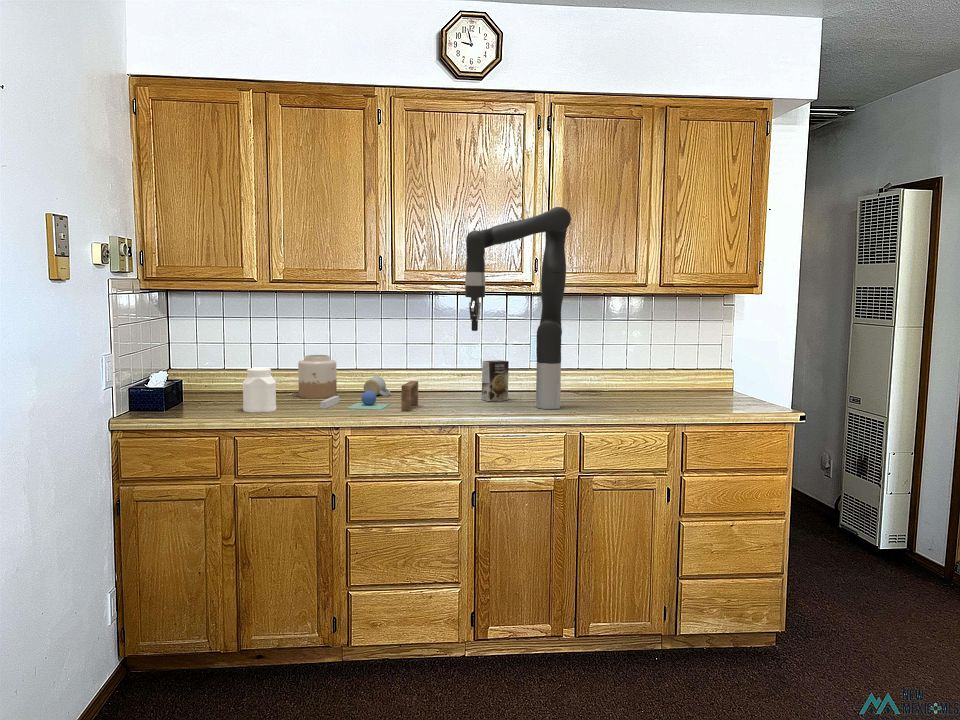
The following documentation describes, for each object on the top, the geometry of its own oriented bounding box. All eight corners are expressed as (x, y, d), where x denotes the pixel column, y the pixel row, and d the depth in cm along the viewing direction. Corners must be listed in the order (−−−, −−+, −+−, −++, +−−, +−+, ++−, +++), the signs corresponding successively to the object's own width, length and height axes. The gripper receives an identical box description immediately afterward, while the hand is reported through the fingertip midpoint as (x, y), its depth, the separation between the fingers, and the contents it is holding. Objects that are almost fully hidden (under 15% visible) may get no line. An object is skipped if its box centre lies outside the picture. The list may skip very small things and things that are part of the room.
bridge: (418, 405, 285) (418, 381, 285) (409, 411, 271) (409, 386, 270) (410, 404, 286) (410, 380, 285) (401, 411, 271) (401, 385, 271)
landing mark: (389, 404, 286) (389, 404, 286) (380, 409, 273) (380, 409, 273) (357, 403, 288) (357, 402, 288) (346, 408, 275) (346, 408, 275)
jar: (241, 412, 264) (241, 370, 262) (244, 408, 273) (243, 367, 272) (275, 412, 266) (274, 370, 265) (277, 407, 275) (276, 367, 274)
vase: (304, 393, 314) (304, 353, 313) (340, 394, 313) (340, 354, 312) (293, 398, 299) (293, 357, 297) (331, 399, 298) (330, 357, 296)
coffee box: (490, 402, 295) (490, 361, 294) (481, 400, 300) (481, 360, 299) (508, 400, 300) (509, 360, 299) (499, 398, 305) (500, 359, 304)
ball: (373, 406, 286) (380, 394, 285) (369, 409, 281) (376, 397, 280) (361, 398, 287) (368, 386, 285) (356, 401, 281) (364, 389, 280)
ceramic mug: (362, 396, 307) (362, 377, 306) (368, 393, 315) (368, 375, 314) (387, 397, 306) (387, 379, 305) (392, 395, 314) (393, 376, 313)
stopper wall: (339, 402, 290) (339, 395, 290) (325, 408, 275) (325, 401, 274) (334, 402, 291) (334, 395, 290) (320, 408, 275) (320, 401, 275)
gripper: (482, 284, 272) (482, 332, 274) (487, 285, 285) (486, 330, 287) (462, 284, 273) (462, 331, 275) (467, 284, 286) (467, 329, 288)
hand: (474, 330), depth 281 cm, fingers closed
